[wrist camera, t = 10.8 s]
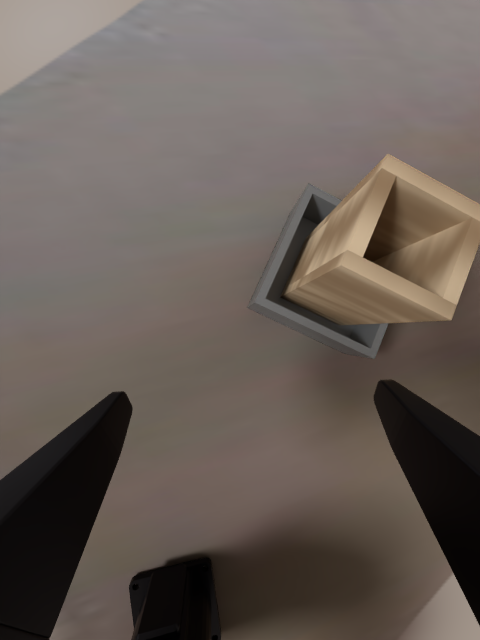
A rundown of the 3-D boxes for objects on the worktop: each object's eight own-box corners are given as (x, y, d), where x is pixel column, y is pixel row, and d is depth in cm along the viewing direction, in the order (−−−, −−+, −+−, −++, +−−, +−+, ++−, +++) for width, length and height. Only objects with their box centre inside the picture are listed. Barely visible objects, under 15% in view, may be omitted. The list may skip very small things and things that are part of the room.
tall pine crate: (339, 325, 21) (451, 320, 11) (279, 297, 20) (341, 265, 11) (363, 266, 21) (491, 210, 12) (306, 237, 21) (387, 153, 11)
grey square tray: (345, 353, 22) (374, 359, 18) (247, 307, 21) (254, 302, 17) (384, 257, 23) (420, 242, 19) (291, 210, 22) (308, 183, 18)
